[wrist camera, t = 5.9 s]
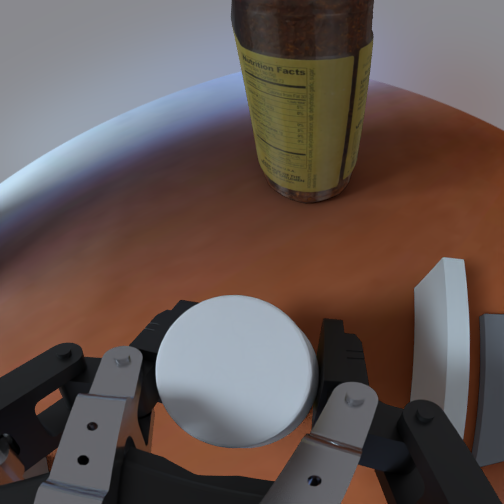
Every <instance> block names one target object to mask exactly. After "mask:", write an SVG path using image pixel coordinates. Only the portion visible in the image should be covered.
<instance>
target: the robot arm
mask: <svg viewBox="0 0 504 504" xmlns="http://www.w3.org/2000/svg"><path fill="white" fill-rule="evenodd" d="M197 304H199V303H198V302H191V301H185V300H180V301H179V302H178V303H177V304H176V306H175V307H174V308H173V309H172V310H166V311H164V312H162V313H160V314H158V315H156V316H155V317H154V319H153V320H152V321H151V322H150V323H149V324H148V325H147V326H146V327H145V329H144V330H143V331H142V332H141V333H140V334H139V335H138V336H137V337H136V339H135V340H134V341H133V342H132V343H131V344H130V345H129V346H119V347H115V348H112V349H110V350H109V351H107V352H106V353H105V354H104V355H103V357H102V358H93V357H84V354H83V351H82V348H81V347H80V346H79V345H77V344H74V343H62V344H59V345H56V346H54V347H52V348H51V349H49V350H47V351H45V352H44V353H42V354H40V355H38V356H37V357H35V358H33V359H32V360H30V361H28V362H26V363H25V364H23V365H21V366H20V367H18V368H16V369H14V370H13V371H11V372H9V373H8V374H6V375H4V376H2V377H1V378H0V504H341V502H342V499H343V497H344V495H345V493H346V491H347V488H348V486H349V484H350V481H351V479H352V477H353V474H354V472H355V470H356V467H357V465H358V464H359V465H362V466H366V467H369V468H373V469H375V472H376V475H377V477H378V480H379V482H380V485H381V488H382V490H383V493H384V495H385V498H386V500H387V503H388V504H502V503H501V501H500V499H499V498H498V496H497V494H496V493H495V491H494V489H493V487H492V486H491V484H490V482H489V481H488V479H487V477H486V476H485V474H484V473H483V471H482V469H481V468H480V466H479V464H478V463H477V461H476V460H475V458H474V457H473V455H472V453H471V452H470V450H469V449H468V447H467V446H466V444H465V443H464V441H463V439H462V438H461V436H460V435H459V433H458V432H457V430H456V429H455V427H454V426H453V424H452V423H451V421H450V420H449V418H448V417H447V415H446V414H445V413H444V411H443V410H442V408H441V407H440V406H438V405H437V404H436V403H434V402H431V401H428V400H422V399H420V400H414V401H411V402H409V403H408V404H407V405H406V406H405V408H404V409H401V408H398V407H394V406H390V405H387V404H384V403H382V402H381V401H379V400H378V396H377V394H376V392H375V391H374V390H373V389H372V388H371V387H369V382H368V376H367V370H366V364H365V360H364V359H365V358H364V353H363V347H362V342H361V341H360V340H359V339H358V337H357V336H356V335H355V334H348V333H344V327H343V320H337V319H326V318H323V322H322V327H321V333H320V339H319V344H318V350H317V356H316V358H317V361H318V366H319V385H318V391H317V395H316V399H315V401H314V403H313V416H312V431H311V432H310V434H306V435H305V436H304V437H303V439H302V440H301V442H300V444H299V445H298V447H297V448H296V450H295V452H294V453H293V455H292V456H291V458H290V460H289V461H288V463H287V464H286V466H285V467H284V469H283V470H282V472H281V473H280V475H279V476H278V478H277V479H276V481H268V480H261V479H255V478H248V477H243V476H204V475H196V474H193V473H191V472H189V471H187V470H186V469H184V468H182V467H180V466H178V465H176V464H174V463H173V462H171V461H169V460H167V459H166V458H164V457H161V456H158V455H155V454H152V453H151V446H152V435H153V426H154V417H155V412H154V406H155V405H156V403H157V402H160V403H162V400H161V398H160V395H159V392H158V388H157V384H156V360H157V355H158V351H159V348H160V345H161V343H162V340H163V339H164V337H165V335H166V333H167V331H168V330H169V328H170V327H171V326H172V324H173V323H174V322H175V321H176V320H177V319H178V318H179V317H180V316H181V315H182V314H183V313H184V312H186V311H187V310H188V309H190V308H191V307H193V306H195V305H197ZM58 388H59V390H60V393H61V395H62V397H63V398H62V399H60V400H59V401H57V402H56V403H54V404H53V405H52V406H50V407H49V408H47V409H46V410H44V411H43V412H41V413H40V414H38V415H36V414H35V406H36V404H37V402H38V401H40V400H41V399H43V398H44V397H46V396H47V395H49V394H50V393H52V392H53V391H55V390H56V389H58ZM56 448H58V450H57V453H56V456H55V459H54V462H53V466H52V469H51V472H48V473H44V474H41V475H38V476H34V477H31V478H27V479H24V478H23V475H24V472H26V471H27V470H28V469H30V468H31V467H32V466H34V465H35V464H36V463H38V462H39V461H40V460H42V459H43V458H44V457H46V456H47V455H48V454H50V453H51V452H52V451H54V450H55V449H56Z"/></svg>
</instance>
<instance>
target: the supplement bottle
mask: <svg viewBox="0 0 504 504" xmlns="http://www.w3.org/2000/svg"><path fill="white" fill-rule="evenodd" d="M156 384H157V388H158V392H159V395H160V398H161V400H162V403H163V405H164V407H165V409H166V410H167V412H168V413H169V415H170V416H171V417H172V419H173V420H174V421H175V422H176V423H177V424H178V425H179V426H180V427H181V428H182V429H183V430H184V431H186V432H187V433H188V434H190V435H191V436H193V437H195V438H196V439H199V440H201V441H203V442H205V443H208V444H211V445H214V446H219V447H226V448H254V447H260V446H264V445H268V444H271V443H274V442H276V441H278V440H280V439H282V438H284V437H285V436H287V435H288V434H290V433H291V432H292V431H294V430H295V429H296V428H297V427H298V426H299V425H300V424H301V422H302V421H303V420H304V419H305V417H306V416H307V414H308V413H309V411H310V409H311V407H312V405H313V403H314V401H315V399H316V395H317V391H318V385H319V366H318V361H317V358H316V354H315V351H314V349H313V347H312V345H311V343H310V341H309V340H308V338H307V337H306V335H305V334H304V333H303V332H302V330H301V329H300V328H299V327H298V326H297V325H296V324H295V323H294V322H293V321H292V319H291V318H290V317H289V316H287V315H286V314H285V313H284V312H283V311H281V310H280V309H278V308H277V307H275V306H274V305H272V304H270V303H268V302H266V301H263V300H260V299H257V298H254V297H249V296H242V295H227V296H219V297H215V298H211V299H208V300H205V301H203V302H201V303H199V304H197V305H195V306H193V307H191V308H190V309H188V310H187V311H186V312H184V313H183V314H182V315H181V316H180V317H179V318H178V319H177V320H176V321H175V322H174V323H173V324H172V326H171V327H170V328H169V330H168V331H167V333H166V335H165V337H164V339H163V340H162V343H161V345H160V348H159V351H158V355H157V360H156Z"/></svg>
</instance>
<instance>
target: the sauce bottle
mask: <svg viewBox="0 0 504 504" xmlns="http://www.w3.org/2000/svg"><path fill="white" fill-rule="evenodd" d="M373 4H374V0H232V6H231V21H232V27H233V31H234V36H235V41H236V45H237V50H238V55H239V60H240V65H241V70H242V75H243V80H244V85H245V90H246V95H247V101H248V106H249V111H250V117H251V122H252V128H253V133H254V139H255V144H256V150H257V156H258V161H259V164H260V166H261V168H262V170H263V172H264V175H265V177H266V180H267V182H268V184H269V185H270V186H271V187H272V188H273V189H274V190H276V191H277V192H278V193H280V194H282V195H283V196H286V197H288V198H290V199H292V200H296V201H299V202H303V203H309V202H318V201H322V200H325V199H328V198H330V197H333V196H336V195H338V194H340V193H341V191H343V190H344V188H345V187H346V186H347V184H348V183H349V179H350V176H351V173H352V170H353V169H354V167H355V164H356V161H357V156H358V149H359V144H360V138H361V132H362V126H363V119H364V112H365V105H366V98H367V91H368V83H369V75H370V67H371V56H372V47H373V32H372V19H373Z"/></svg>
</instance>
